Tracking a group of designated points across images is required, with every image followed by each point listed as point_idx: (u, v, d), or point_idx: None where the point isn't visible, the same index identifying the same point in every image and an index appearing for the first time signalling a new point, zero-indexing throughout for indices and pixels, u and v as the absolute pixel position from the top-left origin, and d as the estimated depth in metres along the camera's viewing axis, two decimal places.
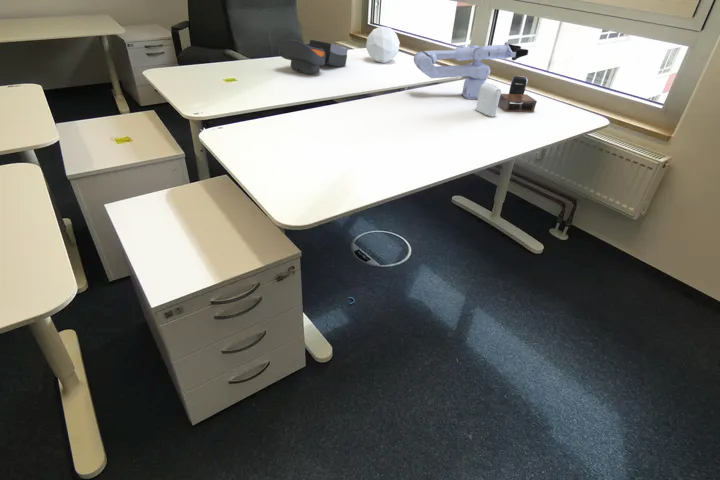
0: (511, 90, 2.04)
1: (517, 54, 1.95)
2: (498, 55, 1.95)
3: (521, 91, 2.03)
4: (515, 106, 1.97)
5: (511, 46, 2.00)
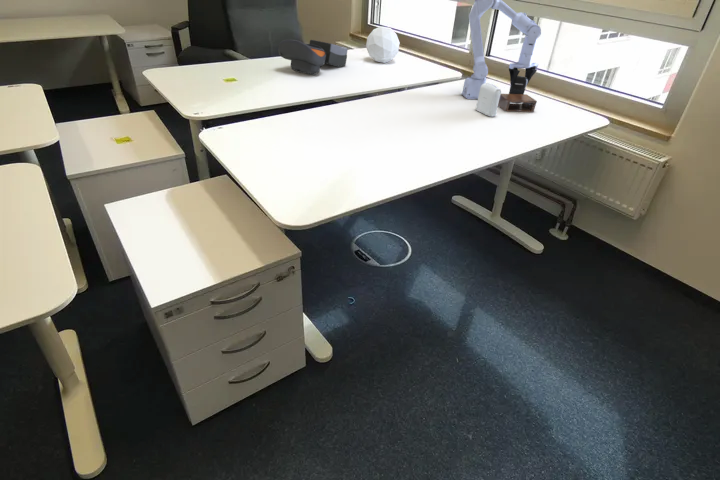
0: (511, 90, 2.04)
1: None
2: None
3: (521, 91, 2.03)
4: (515, 106, 1.97)
5: None
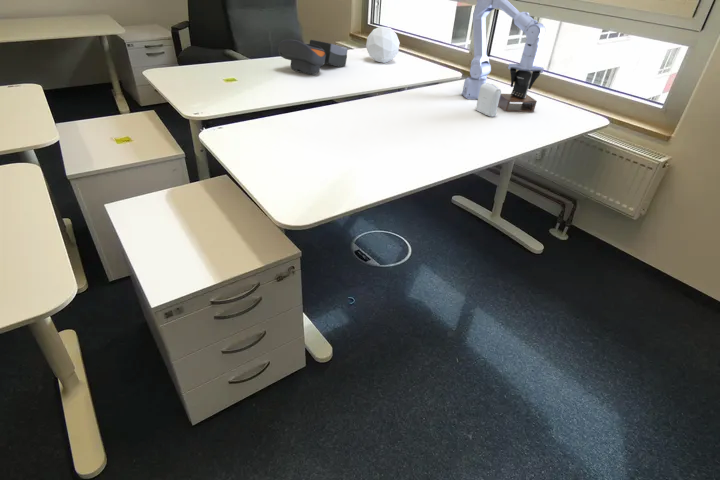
0: (515, 84, 1.93)
1: None
2: (535, 57, 1.83)
3: (524, 86, 1.90)
4: (515, 106, 1.97)
5: None
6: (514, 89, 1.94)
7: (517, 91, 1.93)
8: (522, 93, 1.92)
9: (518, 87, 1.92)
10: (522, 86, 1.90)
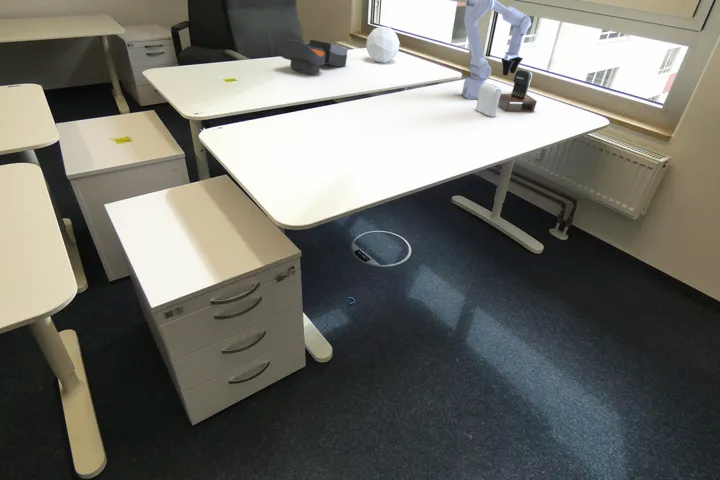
0: (515, 84, 1.93)
1: None
2: None
3: (524, 86, 1.90)
4: (515, 106, 1.97)
5: None
6: (514, 89, 1.94)
7: (517, 91, 1.93)
8: (522, 93, 1.92)
9: (518, 87, 1.92)
10: (522, 86, 1.90)
